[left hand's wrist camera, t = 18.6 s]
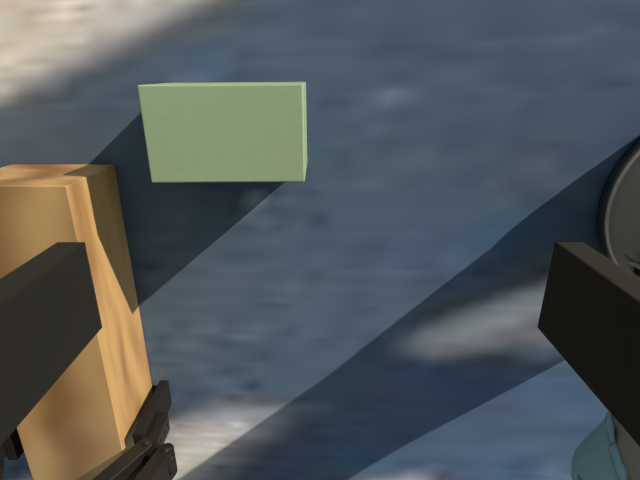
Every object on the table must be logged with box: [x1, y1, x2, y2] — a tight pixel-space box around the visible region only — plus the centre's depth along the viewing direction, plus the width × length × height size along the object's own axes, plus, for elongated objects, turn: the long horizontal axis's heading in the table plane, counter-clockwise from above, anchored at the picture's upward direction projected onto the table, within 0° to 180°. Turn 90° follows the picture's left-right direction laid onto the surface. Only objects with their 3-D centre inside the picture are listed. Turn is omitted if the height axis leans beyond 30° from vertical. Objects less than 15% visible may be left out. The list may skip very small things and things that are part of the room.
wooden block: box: [0, 164, 153, 480], centre depth 35 cm, size 8×26×7 cm, turn 0°
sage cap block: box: [138, 82, 307, 183], centre depth 30 cm, size 10×6×6 cm, turn 90°
